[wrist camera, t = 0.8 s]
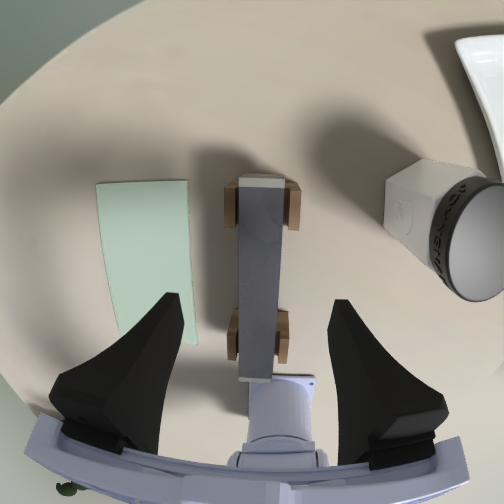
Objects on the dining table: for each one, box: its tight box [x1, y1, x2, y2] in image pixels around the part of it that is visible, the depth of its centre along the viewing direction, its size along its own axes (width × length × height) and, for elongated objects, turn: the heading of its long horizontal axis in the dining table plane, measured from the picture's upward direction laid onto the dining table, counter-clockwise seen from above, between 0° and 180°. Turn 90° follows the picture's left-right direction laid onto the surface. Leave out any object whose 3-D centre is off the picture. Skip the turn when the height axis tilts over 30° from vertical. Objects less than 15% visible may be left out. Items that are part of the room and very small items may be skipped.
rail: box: [238, 173, 285, 384], centre depth 24 cm, size 18×3×3 cm, turn 179°
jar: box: [383, 159, 504, 302], centre depth 19 cm, size 9×8×12 cm
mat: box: [96, 180, 198, 345], centre depth 29 cm, size 18×10×1 cm, turn 179°
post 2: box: [227, 309, 289, 364], centre depth 28 cm, size 3×6×5 cm, turn 89°
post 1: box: [224, 181, 301, 231], centre depth 24 cm, size 3×6×5 cm, turn 89°
